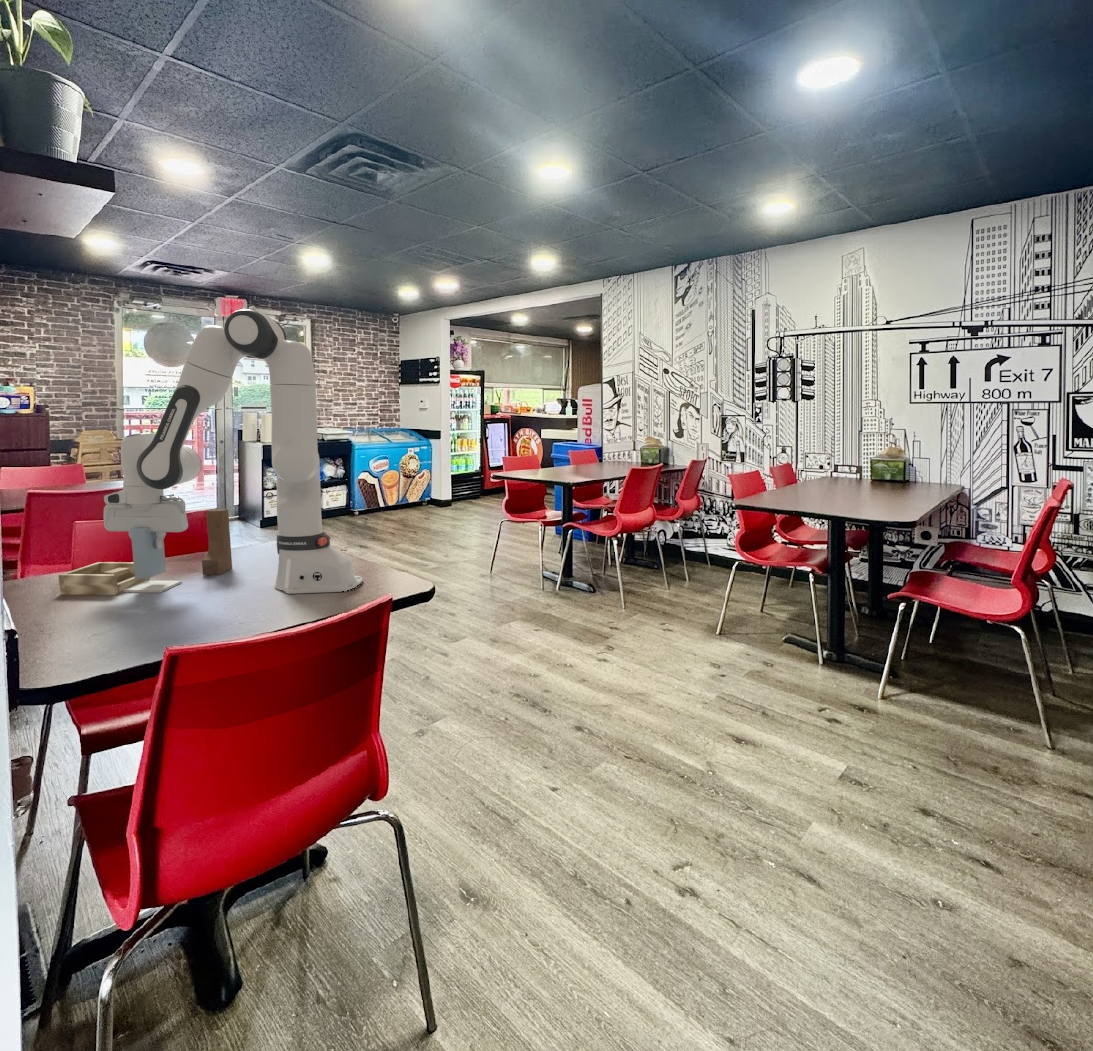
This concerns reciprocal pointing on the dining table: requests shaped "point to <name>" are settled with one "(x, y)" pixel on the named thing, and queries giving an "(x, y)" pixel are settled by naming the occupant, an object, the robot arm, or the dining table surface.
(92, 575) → the tray
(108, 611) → the dining table surface
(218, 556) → the wooden block
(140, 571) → the grey block
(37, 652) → the dining table surface
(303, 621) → the dining table surface
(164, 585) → the felt pad
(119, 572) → the offcut oak
